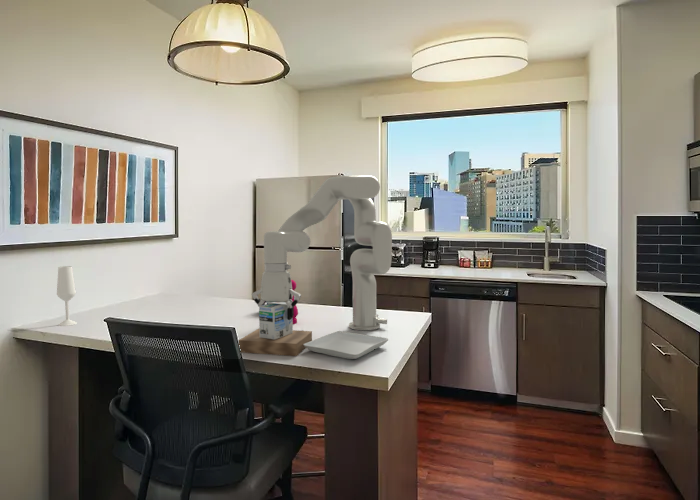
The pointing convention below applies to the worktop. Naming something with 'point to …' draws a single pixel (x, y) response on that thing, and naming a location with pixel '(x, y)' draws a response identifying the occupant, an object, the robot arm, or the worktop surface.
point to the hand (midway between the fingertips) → (276, 318)
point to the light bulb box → (274, 320)
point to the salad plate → (345, 344)
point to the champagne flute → (66, 290)
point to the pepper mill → (295, 305)
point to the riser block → (275, 343)
